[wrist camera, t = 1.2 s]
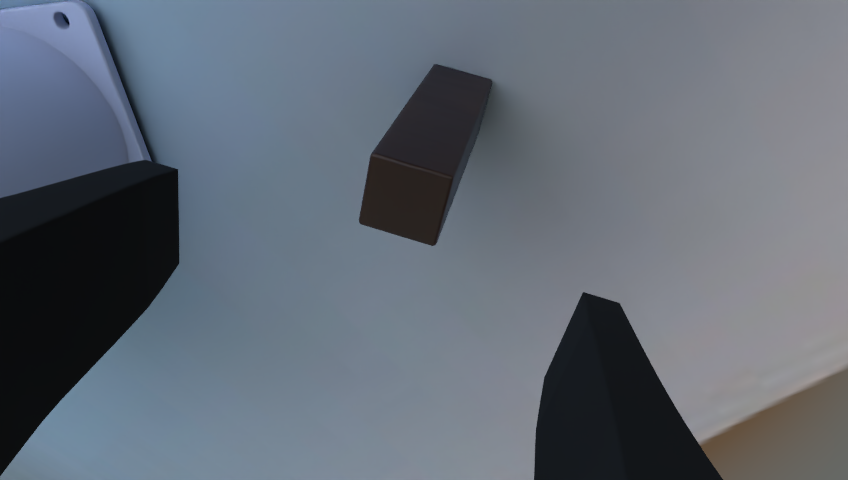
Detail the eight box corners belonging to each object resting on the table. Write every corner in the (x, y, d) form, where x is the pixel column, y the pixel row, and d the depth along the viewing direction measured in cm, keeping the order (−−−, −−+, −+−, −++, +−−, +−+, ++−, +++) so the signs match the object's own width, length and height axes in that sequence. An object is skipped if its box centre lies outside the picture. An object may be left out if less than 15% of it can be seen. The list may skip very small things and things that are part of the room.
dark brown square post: (421, 119, 19) (357, 224, 14) (434, 62, 18) (369, 152, 13) (477, 135, 19) (434, 248, 14) (493, 79, 18) (453, 177, 13)
